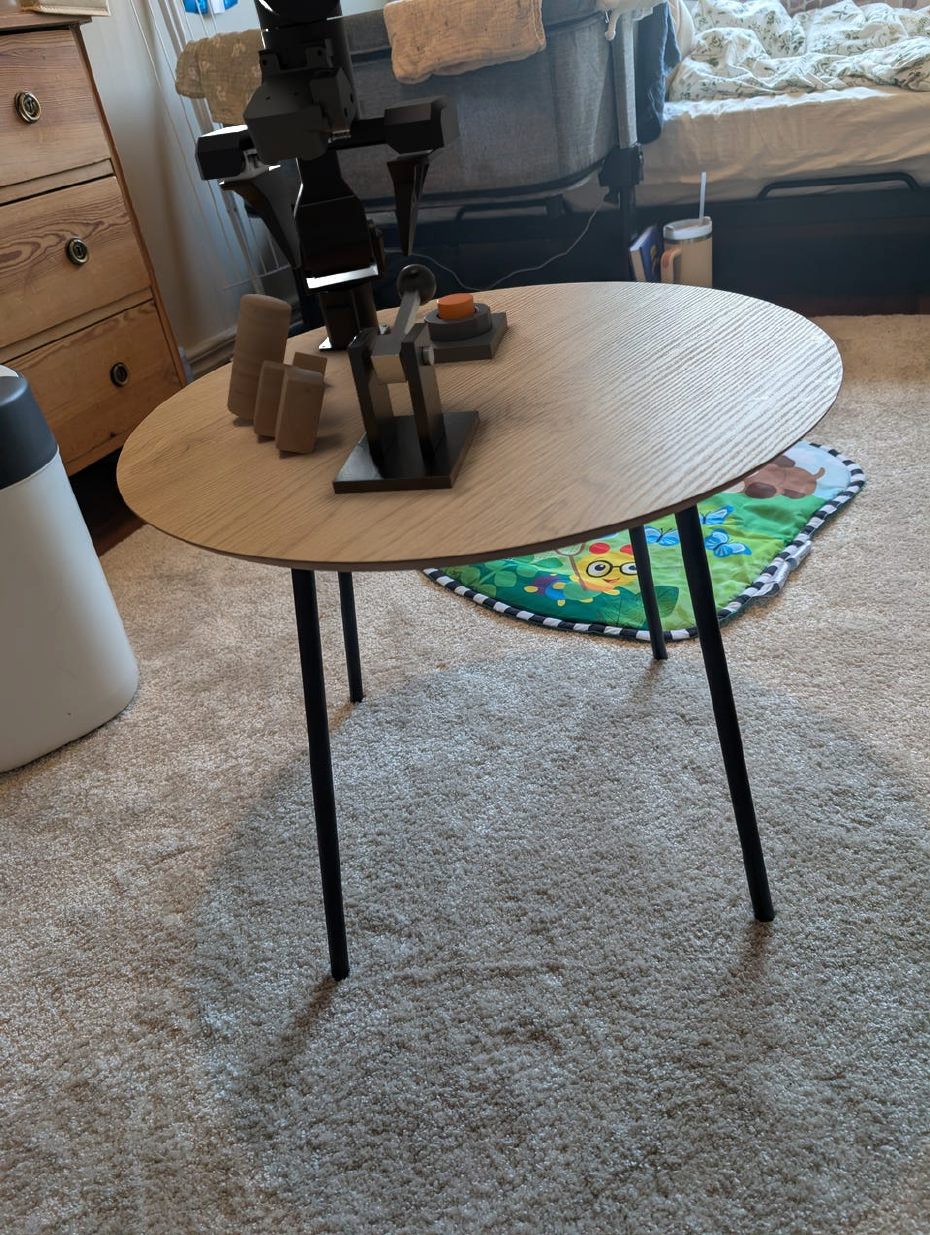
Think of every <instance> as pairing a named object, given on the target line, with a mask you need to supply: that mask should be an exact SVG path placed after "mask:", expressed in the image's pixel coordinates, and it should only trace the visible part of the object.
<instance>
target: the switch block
mask: <svg viewBox="0 0 930 1235" xmlns="http://www.w3.org/2000/svg"><path fill="white" fill-rule="evenodd" d="M474 308H475V313H474V314H472V315H470V316H468V317H464V318H460V319H452V320H444V319H440V318H439V312H438V308H436V309H433V310H431V311H430V312H427V313H426V314H425V316H424V318H423V323H424V322H427V324H428V330H429V336H430V341H431V346H432V348H433V352H434V365H437V364H449V363H461V362H475V361H485V360H492V359H493V358H494V357H495V354H496V352H497V350H498V348H499V346H500V344H501V342H502V339H503V337H504V335H505V334H506V332H507V330H508V328H509V327H508V326H509V325H508V317H507V311H502V312H491V307H490V306H489V305H487V304H485V303H483V302H482V303H481V302H474Z"/></svg>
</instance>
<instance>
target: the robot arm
mask: <svg viewBox="0 0 930 1235" xmlns="http://www.w3.org/2000/svg"><path fill="white" fill-rule="evenodd" d="M253 5H254V9H255V13H256V17H257V18H256V19H257V21H258V26H259V30H260V35H261V39H262V43H263V47H264V49H260V50H257V53H258V58H259V59H258V64H259V68H260V69H259V70H260V71H261V82H260V83H261V85H259V86H258V87H256V88H255V90H254V91H253V93H252V95H251V97H250V99H249V100H248V102H247V105H246V106H245V108H244V110H243V112H242V114H241V115H242V119H243V122H244V123H245V124H242V125H241V124H240V125H234V126H228V127H223V128H219V129H217V130H214V131H212V132H209V133H206V134H202V135H200V136H198V137H197V140H196V144H195V147H194V148H195V149H194V160H195V163H196V167H197V171H198V173H199V177H200V181H205V182H206V181H213V180H220V179H222V182H220V183H219V184H218V185H219V188H221V189H222V191H226V192H227V191H232V192H234V193H236V195H238V196H240V197H241V199H243V200H244V201H246V202H247V203H248V204H249V205H250V206H251V207H252V209H253V210H254V212H255V213H256V214H257V215H258V217H259V218H260V219H261V221H262V222H263V224H264V225H265V226H266V228H267V230H268V231H269V233H270V235H271V236H272V238H273V239H274V242H276V244H277V246H278V247H279V249H280V251H281V253H282V254H283V255H284V257H285V259H286V261H287V262H288V264H289V265H290V267H291V268H292V270H293V269H294V270H297V269H299V273H300V279H301V281H302V286H303V290H304V293H305V297H309V296H311V295H313V294H317V295H318V300H319V303H320V309H321V313H322V318H323V321H324V325H325V330H326V334H327V338H326V339H325V340H324V341H323V342H322V343H321V344H320V345H319V347H318V350H319V353H324V352H325V353H326V352H337V351H347V347H348V346H349V345H350V343H351V342H352V341H353V340H354V339H355V338H356V337H357V335H358V334H359V333H360V332H361V331H362V330H363V328H369V327H376V330H377V335H388V333H389V331H390V330H391V325H390V324H380V323H379V318H378V314H377V308H376V302H375V299H374V294H373V287H372V284H371V283H372V282H377V281H379V282H381V281H384V280H385V278H386V277H387V276H389V272H388V267H387V262H386V253H385V245H384V237H383V232H382V231H381V230H380V229H378V228H377V226H376V224H375V223H374V220H373V217H368V218H367V213H366V210H365V205H364V203H363V202H362V200H361V199H360V197H358V195H357V194H356V193H355V191H353V189H352V188H351V186H350V185H349V184H348V183H347V182H346V180H345V179H344V178H343V175H342V171H341V165H340V161H339V157H338V151H345V150H352V149H359V148H360V149H361V148H368V147H373V146H382V145H388V146H389V147H390V148H391V149H392V150H393V151H394V152H395V153H396V155H394V156H393V157H392V158H390V159H389V160H388V161H386V162H385V164H386V167H387V170H388V172H389V173H388V174H389V175H390V178H391V182H392V186H393V194H394V203H395V211H396V212H395V213H396V223H397V230H398V231H397V233H398V240H399V244H400V249H401V253H402V256H403V257H404V258H409V257H410V256H411V255H412V252H413V245H414V240H415V236H416V235H415V234H416V229H417V223H418V218H419V216H418V215H419V210H420V204H421V198H422V193H423V190H424V186H425V183H426V179H427V176H428V172H429V168H430V165H431V162H432V161H434V160H435V159H437V158H438V157H439V156H440V155H441V154H443V153H444V152H445V147H447V146H448V145H449V144H451V143H452V142H453V141H454V140H456V139H457V138H458V137H460V136H461V134H460V126H459V119H458V111H457V108H456V106H455V103H454V102H453V101H452V100H451V99H450V97H448V95H447V94H440V95H439V94H438V95H433V96H427V97H420V98H413V99H408V100H401V101H399V102H397V103H395V104H392V105H391V106H388V107H386V108H385V109H384V112H383V115H377V116H370V117H365V116H366V114H367V113H366V108H365V102H364V99H359V95H358V88H357V84H356V79H355V74H354V67H353V62H352V56H351V52H352V51H354V50H355V48H354V43H353V37H352V33H347V31H346V26H345V20H344V17H343V10H342V9H343V8H342V4H341V0H253ZM363 117H364V118H363ZM294 159H295V160H296V165H297V169H298V173H299V179H300V182H301V183H300V188H299V192H298V195H297V198H296V202H295V206H294V210H292V205H291V200H290V196H289V191H288V186H287V182H286V177H285V173H284V169H283V168H284V167H283V165H277V164H278V162H281V161H288V160H294ZM371 264H372V265H371ZM309 276H313V277H311V278H308V277H309Z"/></svg>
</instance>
